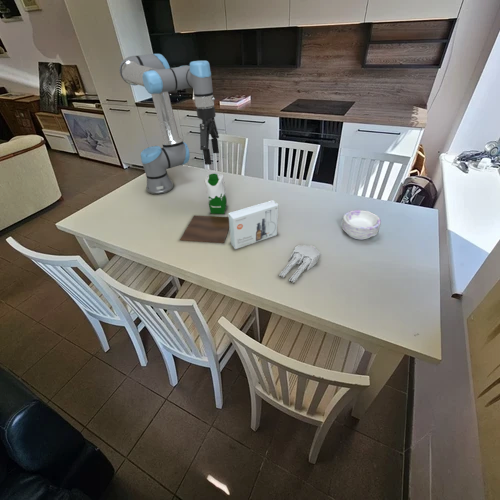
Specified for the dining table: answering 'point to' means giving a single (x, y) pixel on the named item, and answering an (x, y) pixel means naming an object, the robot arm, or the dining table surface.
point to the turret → (301, 260)
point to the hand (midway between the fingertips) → (212, 158)
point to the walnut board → (207, 229)
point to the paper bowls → (361, 224)
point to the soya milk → (216, 193)
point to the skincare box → (253, 224)
